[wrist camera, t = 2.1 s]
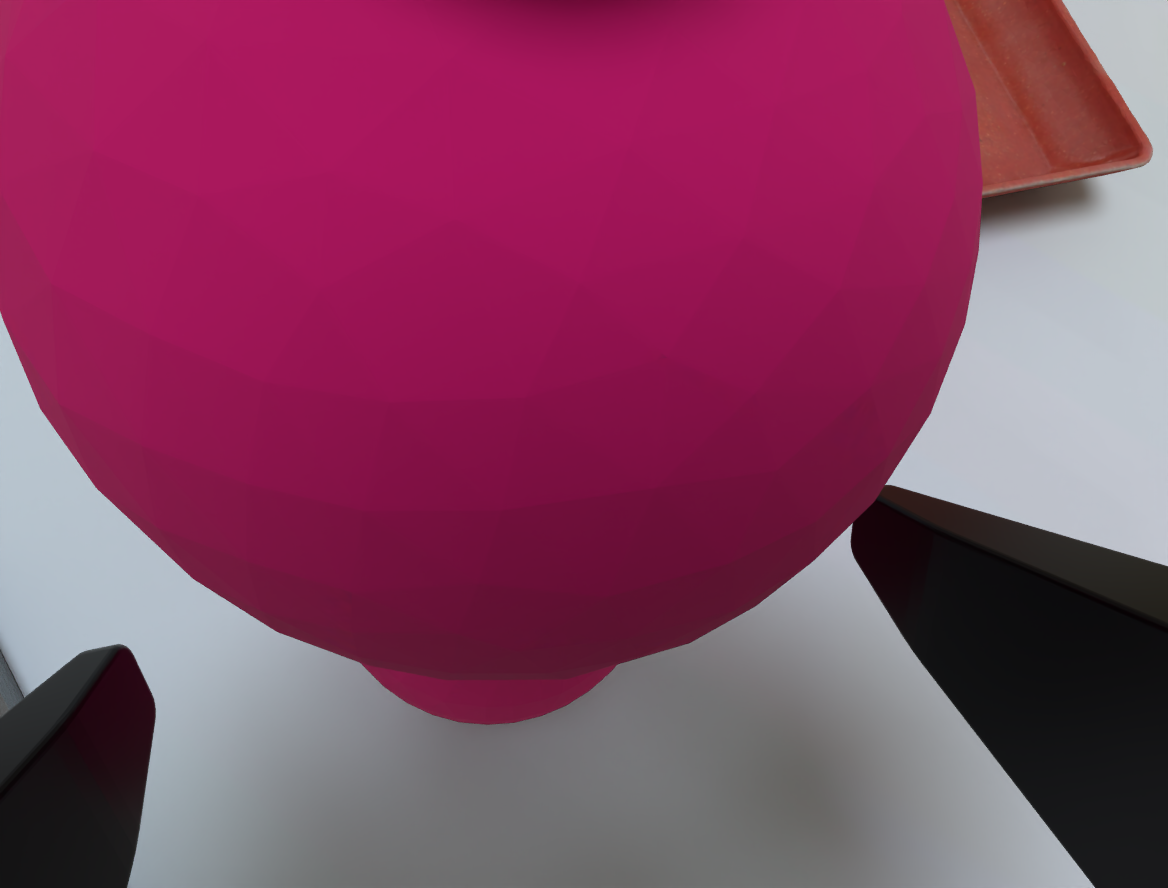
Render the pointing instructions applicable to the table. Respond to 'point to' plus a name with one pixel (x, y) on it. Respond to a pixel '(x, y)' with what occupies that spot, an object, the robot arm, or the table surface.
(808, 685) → the table surface
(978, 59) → the plant saucer
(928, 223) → the pepper mill
